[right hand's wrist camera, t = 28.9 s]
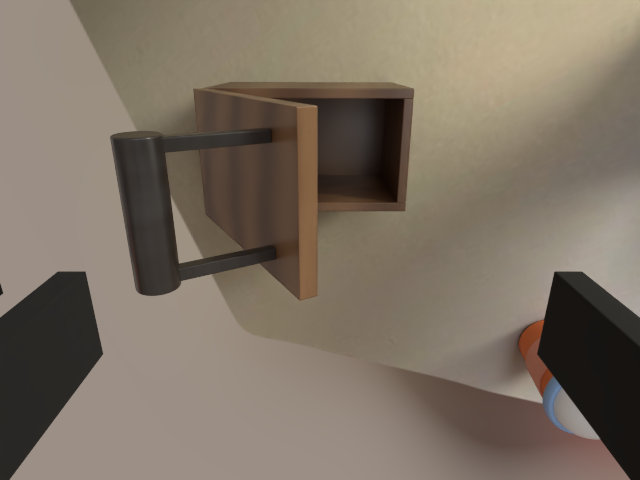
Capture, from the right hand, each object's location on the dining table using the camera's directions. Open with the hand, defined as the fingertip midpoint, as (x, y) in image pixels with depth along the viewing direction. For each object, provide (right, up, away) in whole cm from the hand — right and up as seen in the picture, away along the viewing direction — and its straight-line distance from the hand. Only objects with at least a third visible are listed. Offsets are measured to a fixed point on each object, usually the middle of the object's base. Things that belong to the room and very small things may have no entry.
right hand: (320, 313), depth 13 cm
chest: (-1, +13, +33) cm, 35 cm away
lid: (-4, +6, +16) cm, 18 cm away
